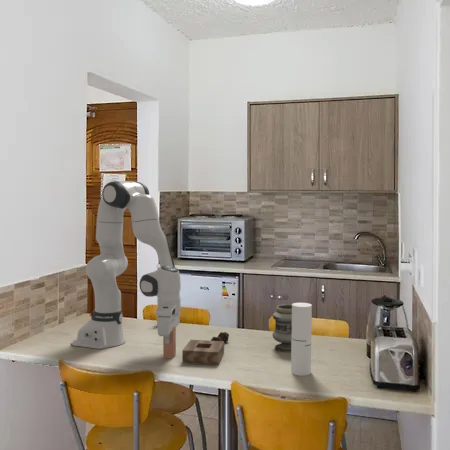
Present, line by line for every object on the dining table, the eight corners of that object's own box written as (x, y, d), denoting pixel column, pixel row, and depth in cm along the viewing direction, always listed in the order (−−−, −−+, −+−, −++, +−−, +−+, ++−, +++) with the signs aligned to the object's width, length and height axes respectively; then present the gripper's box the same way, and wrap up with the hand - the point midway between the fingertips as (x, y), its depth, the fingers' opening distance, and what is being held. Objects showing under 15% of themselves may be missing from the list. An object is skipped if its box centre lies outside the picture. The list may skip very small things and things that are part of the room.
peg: (163, 357, 196) (163, 327, 195) (166, 354, 200) (166, 325, 199) (173, 358, 195) (173, 328, 194) (175, 354, 199) (175, 325, 198)
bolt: (227, 343, 220) (217, 353, 206) (218, 337, 222) (207, 346, 207) (233, 333, 219) (224, 341, 205) (224, 326, 221) (214, 334, 206)
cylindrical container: (289, 368, 184) (290, 302, 182) (307, 368, 184) (309, 302, 183) (293, 375, 177) (294, 307, 175) (312, 375, 177) (314, 306, 176)
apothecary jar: (266, 348, 208) (266, 306, 207) (283, 342, 217) (284, 301, 215) (290, 355, 200) (290, 311, 198) (306, 348, 208) (307, 306, 207)
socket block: (182, 363, 189) (182, 350, 189) (190, 351, 203) (190, 339, 203) (218, 365, 187) (218, 352, 187) (224, 353, 201) (224, 341, 201)
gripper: (168, 301, 207) (168, 333, 208) (154, 312, 187) (154, 348, 188) (183, 301, 206) (183, 334, 207) (170, 313, 186) (170, 349, 187)
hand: (169, 341), depth 197 cm, fingers closed on peg, 4 cm apart
